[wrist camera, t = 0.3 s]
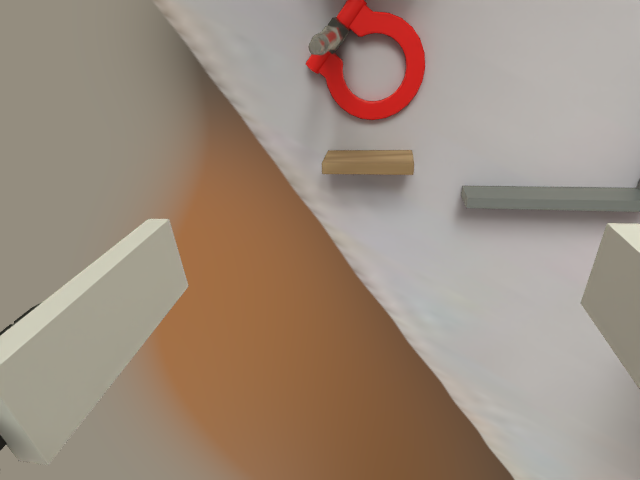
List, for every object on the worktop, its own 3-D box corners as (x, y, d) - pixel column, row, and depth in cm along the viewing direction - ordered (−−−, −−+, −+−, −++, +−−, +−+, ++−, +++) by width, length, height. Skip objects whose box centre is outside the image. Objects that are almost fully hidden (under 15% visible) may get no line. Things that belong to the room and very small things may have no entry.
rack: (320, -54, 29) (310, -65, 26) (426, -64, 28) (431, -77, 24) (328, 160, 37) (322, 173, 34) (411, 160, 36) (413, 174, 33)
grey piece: (508, -137, 25) (521, -155, 23) (791, -171, 23) (842, -196, 20) (461, 195, 37) (466, 208, 34) (644, 198, 34) (665, 212, 32)
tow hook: (444, 58, 32) (360, -21, 30) (480, 83, 21) (351, -38, 19) (378, 135, 36) (300, 70, 34) (379, 190, 25) (264, 99, 23)
